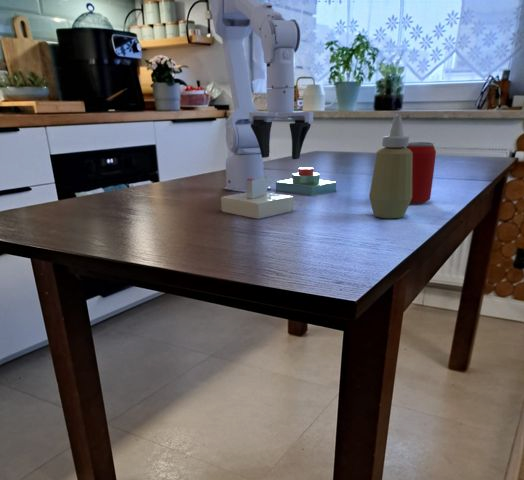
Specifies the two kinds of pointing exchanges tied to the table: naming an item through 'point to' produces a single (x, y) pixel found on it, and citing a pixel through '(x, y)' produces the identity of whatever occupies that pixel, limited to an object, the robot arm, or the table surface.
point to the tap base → (257, 205)
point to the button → (306, 171)
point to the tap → (256, 187)
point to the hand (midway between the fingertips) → (280, 158)
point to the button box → (306, 185)
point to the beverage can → (422, 170)
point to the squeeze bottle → (392, 175)
